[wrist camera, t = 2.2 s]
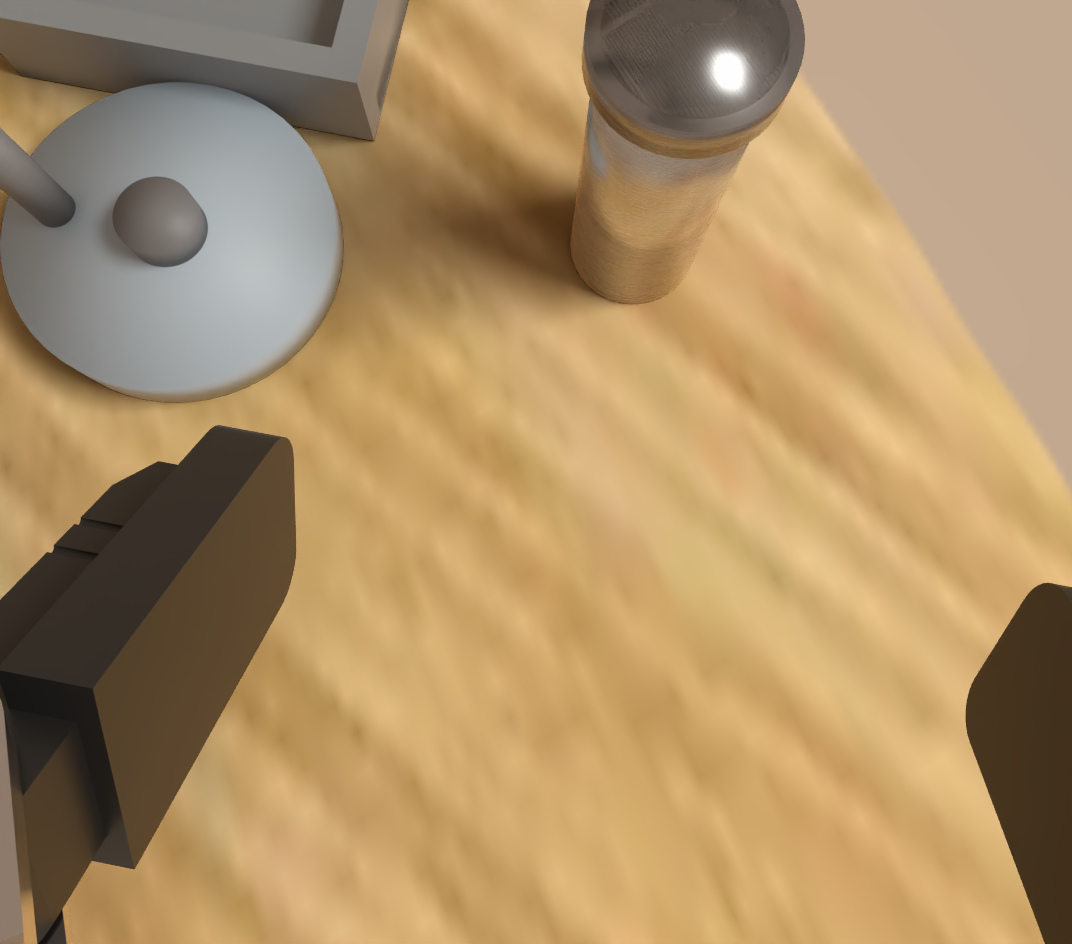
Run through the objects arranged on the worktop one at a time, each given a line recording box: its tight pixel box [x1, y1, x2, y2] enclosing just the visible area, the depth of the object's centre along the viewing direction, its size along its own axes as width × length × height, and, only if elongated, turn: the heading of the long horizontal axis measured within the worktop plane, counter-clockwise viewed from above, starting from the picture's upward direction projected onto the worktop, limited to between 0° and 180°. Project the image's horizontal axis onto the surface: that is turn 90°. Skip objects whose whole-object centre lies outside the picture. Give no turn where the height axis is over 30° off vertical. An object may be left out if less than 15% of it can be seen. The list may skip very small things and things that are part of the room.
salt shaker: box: [570, 0, 805, 304], centre depth 22 cm, size 5×5×10 cm
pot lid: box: [0, 82, 344, 402], centre depth 24 cm, size 10×10×6 cm
